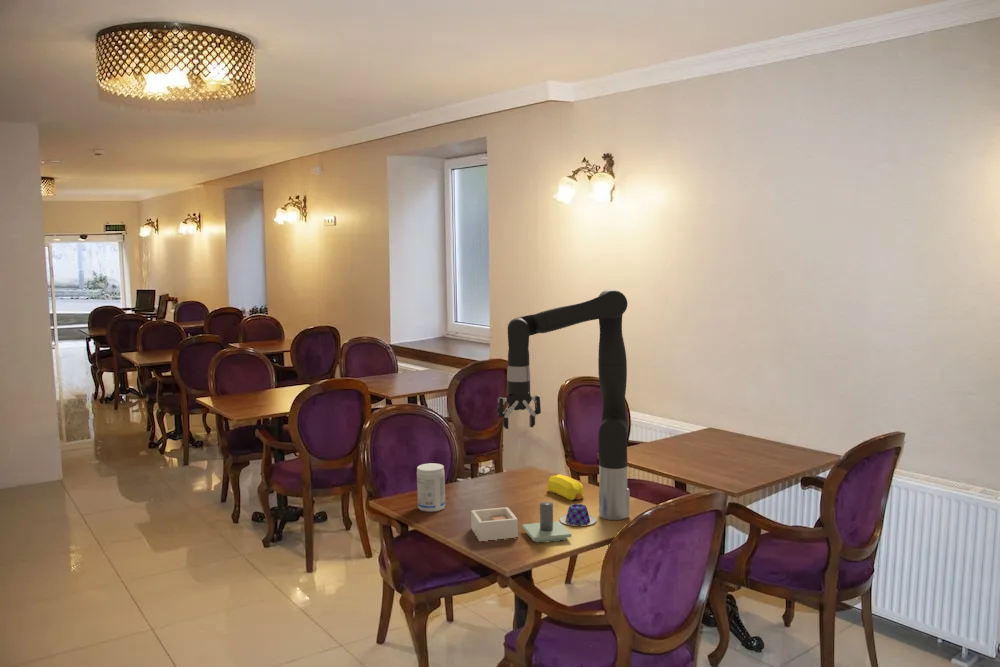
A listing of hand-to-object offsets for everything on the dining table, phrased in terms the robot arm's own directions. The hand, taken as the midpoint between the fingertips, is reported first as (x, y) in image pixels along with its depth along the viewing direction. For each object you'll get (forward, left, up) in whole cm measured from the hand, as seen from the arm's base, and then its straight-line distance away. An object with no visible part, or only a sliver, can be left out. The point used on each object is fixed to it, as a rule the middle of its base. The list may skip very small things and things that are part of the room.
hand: (519, 427), depth 253 cm
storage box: (+12, +13, -30) cm, 35 cm away
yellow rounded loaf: (-22, -18, -30) cm, 42 cm away
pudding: (-17, +9, -31) cm, 36 cm away
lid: (-3, +20, -30) cm, 36 cm away
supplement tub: (+27, -17, -30) cm, 44 cm away
